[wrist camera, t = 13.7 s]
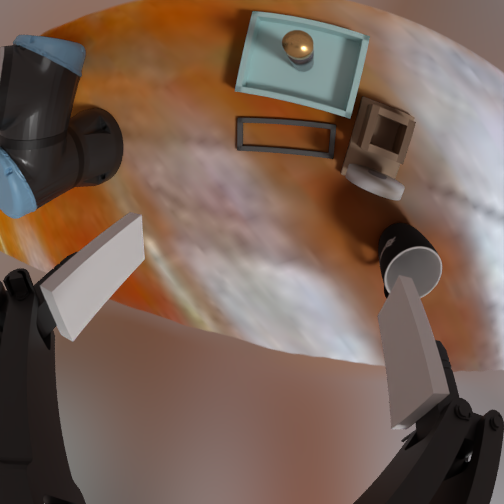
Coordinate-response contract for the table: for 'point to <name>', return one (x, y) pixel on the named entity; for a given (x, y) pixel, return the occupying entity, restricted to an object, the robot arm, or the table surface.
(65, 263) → the robot arm
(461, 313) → the table surface
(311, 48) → the pin
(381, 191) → the tensioner block
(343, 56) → the tray
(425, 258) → the mug
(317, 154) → the dark gray rectangular frame
